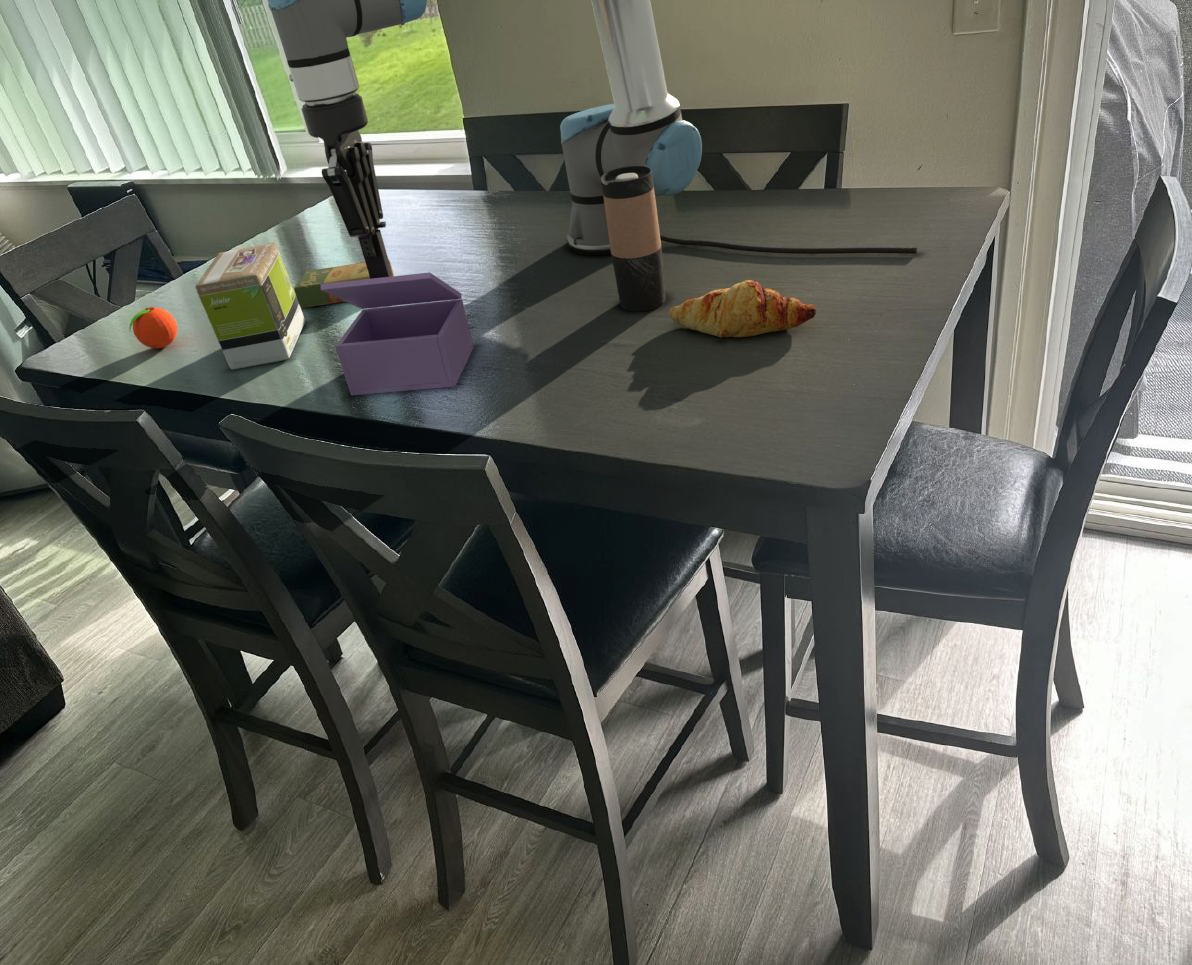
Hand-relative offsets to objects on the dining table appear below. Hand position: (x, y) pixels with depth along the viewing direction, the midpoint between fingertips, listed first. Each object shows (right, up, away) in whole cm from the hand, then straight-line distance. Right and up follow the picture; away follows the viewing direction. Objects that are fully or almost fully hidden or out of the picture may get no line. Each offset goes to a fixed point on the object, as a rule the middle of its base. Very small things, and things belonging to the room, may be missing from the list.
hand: (382, 278), depth 128 cm
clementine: (-46, -5, +33) cm, 57 cm away
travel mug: (+37, 0, +18) cm, 41 cm away
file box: (+3, -11, +10) cm, 15 cm away
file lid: (+1, -1, +4) cm, 4 cm away
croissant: (+50, -6, +6) cm, 51 cm away
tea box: (-25, -6, +26) cm, 36 cm away
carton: (-16, +6, +41) cm, 45 cm away
